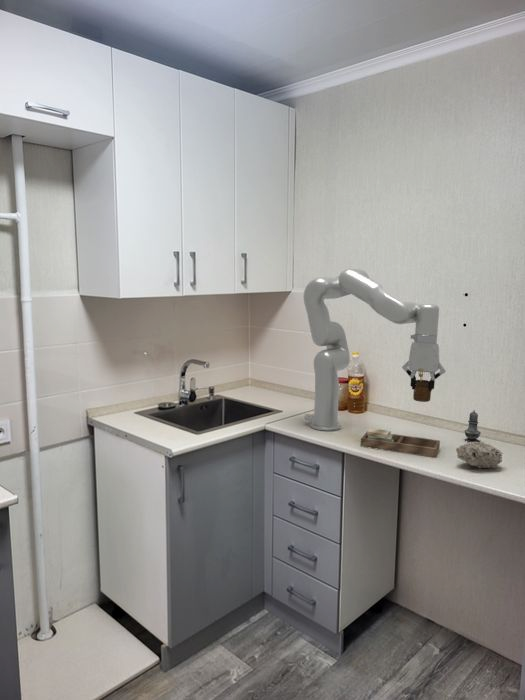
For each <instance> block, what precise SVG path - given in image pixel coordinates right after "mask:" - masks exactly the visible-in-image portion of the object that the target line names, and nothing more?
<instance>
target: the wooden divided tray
mask: <svg viewBox="0 0 525 700" xmlns="http://www.w3.org/2000/svg"><path fill="white" fill-rule="evenodd" d="M368 431H369V430H367V431H366V432H365V433H364V434H363V436H362V437H361V438H360V447H361V446H364V447H363V448H368V447H371V448H370V449H375V448H377V450H381V449H383V450H382V451H388V450H390V451H389V452H395V451H396V452H397V453H401V454H409V455H410V454H411V455H417V456H423V457H429V458H437V456H438V453H439V451H440V446H441V439H439V440H438V439H433V438H424V437H417V436H410V435H402V434H396V433H391V435H393V436H392V440H394V442H389V441H382V440H375V439H368V436H367V433H368Z"/></svg>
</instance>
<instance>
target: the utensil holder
mask: <svg viewBox="0 0 525 700" xmlns="http://www.w3.org/2000/svg"><path fill="white" fill-rule="evenodd" d="M425 373H426V372H423V369H422V372H421V368H420V371H418V378H419V377H420V379H416V381H415V384H416V385H415V386H414V389H413V395H412V396H413V397H412V398H413V401H416V402H422V403H428V402H430V401H431V395H432V391H429V383H430V380H428V377H429V375H430V373H426V374H425ZM424 375H426V377H425V379H424Z"/></svg>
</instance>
